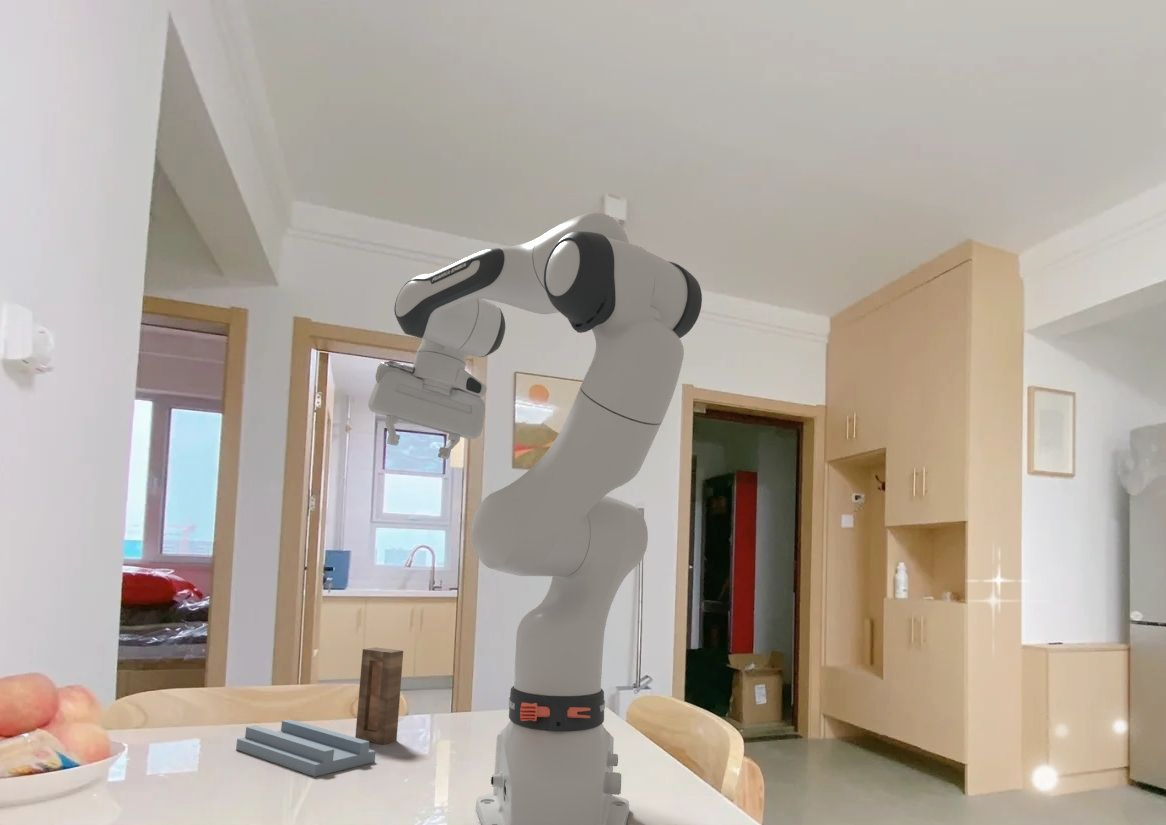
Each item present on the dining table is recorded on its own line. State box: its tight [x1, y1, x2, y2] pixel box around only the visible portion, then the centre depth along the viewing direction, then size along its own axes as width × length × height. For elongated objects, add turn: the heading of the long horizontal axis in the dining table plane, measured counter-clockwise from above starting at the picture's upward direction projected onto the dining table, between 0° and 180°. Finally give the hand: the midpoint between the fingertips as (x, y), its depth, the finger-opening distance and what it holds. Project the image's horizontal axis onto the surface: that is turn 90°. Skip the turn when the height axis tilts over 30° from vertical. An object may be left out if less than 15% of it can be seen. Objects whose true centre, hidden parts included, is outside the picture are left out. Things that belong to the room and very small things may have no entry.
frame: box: [354, 647, 404, 745], centre depth 123 cm, size 6×3×14 cm, turn 63°
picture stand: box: [235, 719, 376, 778], centre depth 111 cm, size 20×10×3 cm, turn 53°
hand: (418, 451), depth 129 cm, fingers open, 8 cm apart
